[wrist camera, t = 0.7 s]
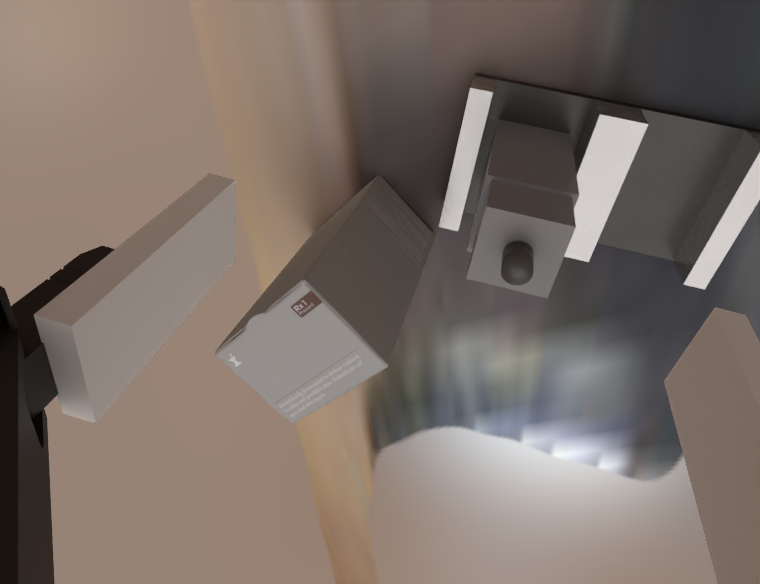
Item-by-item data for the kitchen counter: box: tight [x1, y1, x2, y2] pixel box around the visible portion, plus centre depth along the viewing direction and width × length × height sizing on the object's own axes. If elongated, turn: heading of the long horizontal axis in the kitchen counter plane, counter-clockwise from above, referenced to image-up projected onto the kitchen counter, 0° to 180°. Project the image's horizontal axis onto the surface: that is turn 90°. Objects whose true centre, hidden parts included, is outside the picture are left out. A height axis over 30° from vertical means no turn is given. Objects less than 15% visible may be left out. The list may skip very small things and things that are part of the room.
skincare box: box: [215, 175, 435, 424], centre depth 35 cm, size 8×7×16 cm
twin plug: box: [466, 119, 579, 298], centre depth 29 cm, size 4×4×14 cm
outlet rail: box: [439, 73, 760, 289], centre depth 33 cm, size 9×17×4 cm, turn 82°
